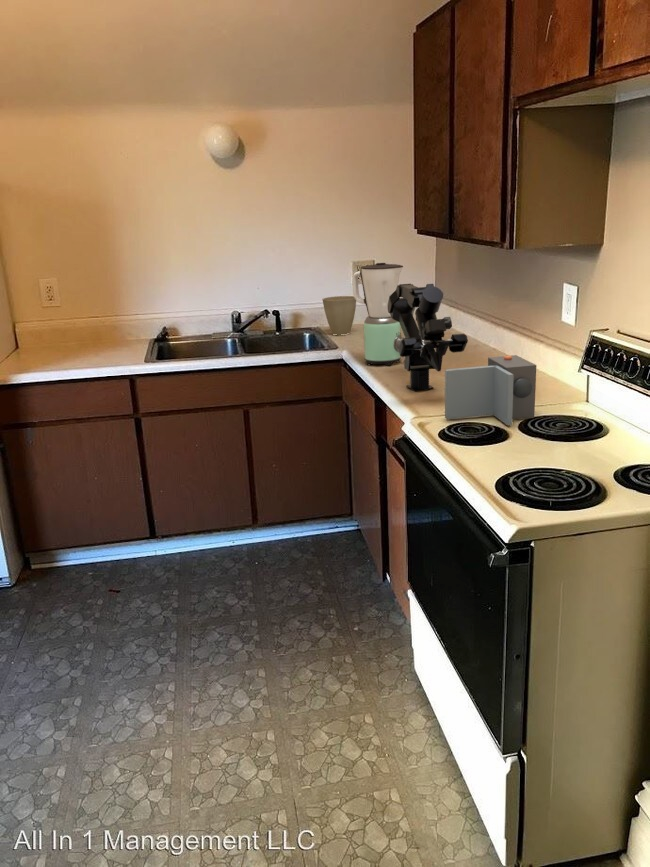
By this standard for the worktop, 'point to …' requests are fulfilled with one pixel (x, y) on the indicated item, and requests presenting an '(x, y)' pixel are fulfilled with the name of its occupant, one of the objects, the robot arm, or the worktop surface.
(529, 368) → the camera case
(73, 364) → the worktop surface
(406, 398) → the worktop surface
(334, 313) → the plant pot
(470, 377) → the grey bookend
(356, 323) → the worktop surface
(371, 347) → the mint green blender
